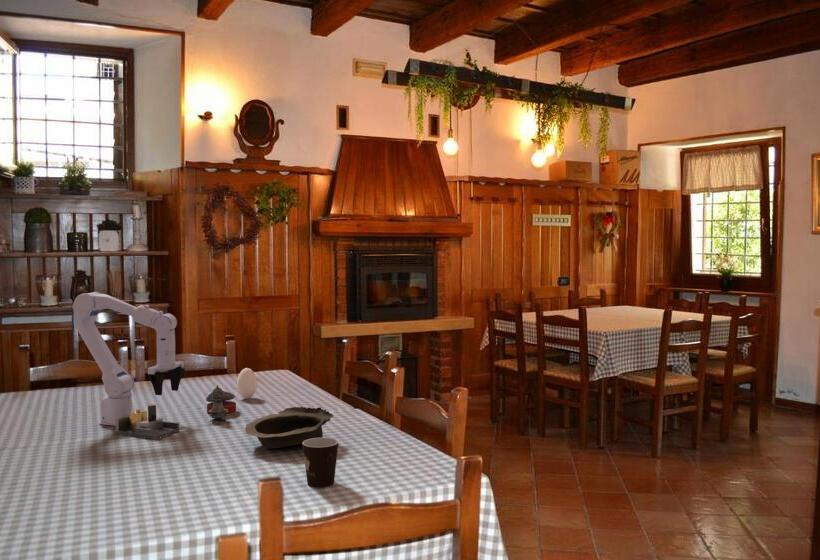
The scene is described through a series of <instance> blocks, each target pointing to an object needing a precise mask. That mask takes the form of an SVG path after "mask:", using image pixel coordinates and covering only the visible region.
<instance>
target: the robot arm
mask: <svg viewBox="0 0 820 560" xmlns="http://www.w3.org/2000/svg"><path fill="white" fill-rule="evenodd" d="M71 307H72V310H73V316H74V317H73V319H74V327H75V328H76V330H77V332H78V334H79V336H80V337H81V339H82V340H83V342H84V344H85V345H86V347H87V349H88V351H89V352H90V354H91V355H92V357H93V359H94V361H95V362H96V365H97V366H98V368H99V369H100V371H101V373H102V375H101V381H102V382H103V385H104V392H105V394H107V395H105V396H104V397H102V399H101V400H100V407H99V408H100V410H99V411H100V421H99V422H98V425H105V426H106V425H107V426H114V427H116V421H115V419H119V418H122V417H126V416H129V415H130V412H133V393H132V389H133V388H134V386H135V378H134V377H133V376H132V375H131V374H129V372H127V370H126V369H125V368H124V367H122V365H120V364H118V361H117V360H116V358H115V357H114V354H113V353H112V351H111V350H110V348H109V346H108V344H107V343H106V341H105V339H104V338H103V336H102V335H101V332H100V331H99V330H98V327H97V326H96V324H95V322H96V319H97V318H98V315H99V314H100V312H102V310H105V309H109V310H111V311H113V312H118V313H121V314H124V315H128V316H129V317H132V319H133V321H134V322H135V323H138V324H141V325H144V326H146V327H149V328H151V329H154V330H155V331H156V337H155V338H156V365H153V366H151V367H147V374H146V375H147V376H146V377H148V380H149V381H150V383H151V385H152V387H153V388H152V389H153V390H154V392H153V393H154V394H155V396H162V395H163V384H164V380H165V377H166V373H165V374H164V373H162V372H167V373H168V374H169V378H170V379H169V380H170V388H171V391H173V392H174V391H176V392H177V391H179V387H180V383H181V380H182V377H183V375H184V373H185V371H186V369H185V368H184V365H185V363H184V361H183V360H182V361H181V360H178V361H176V332H175V331H176V330H175V328H176V327H177V325H178V320H177V318H176V316H175V315H173V314H171V313H169V312H168V313H167V312H166V313H164V311H162V310H156V309H154V308H150V305H148V304H145V305H143V304H141V305H138V306H135V305H132V304H130V303H127V302H125V301H123V300H121V299H118V298H116V297H113V296H111V295H109V294H106V293H101V292H100V291H99V292H98V291H93V292H88V293H80V294H78V295H77V296H76V297H75V299H74V301H73V303H72V305H71Z"/></svg>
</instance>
